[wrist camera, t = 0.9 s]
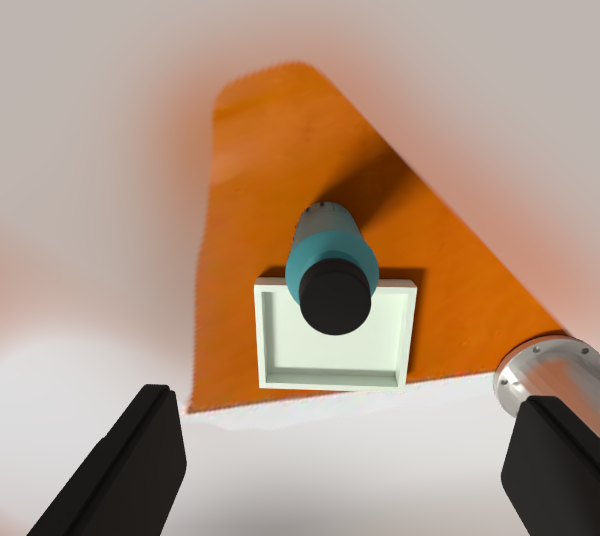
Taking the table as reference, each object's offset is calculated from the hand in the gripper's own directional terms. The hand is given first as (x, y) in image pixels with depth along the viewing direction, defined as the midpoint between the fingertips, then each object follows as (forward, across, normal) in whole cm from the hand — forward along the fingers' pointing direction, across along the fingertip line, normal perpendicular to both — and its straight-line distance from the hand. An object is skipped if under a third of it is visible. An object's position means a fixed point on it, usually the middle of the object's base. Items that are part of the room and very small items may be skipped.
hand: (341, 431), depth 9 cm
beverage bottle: (+28, 0, 0) cm, 29 cm away
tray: (+28, -1, +13) cm, 31 cm away
